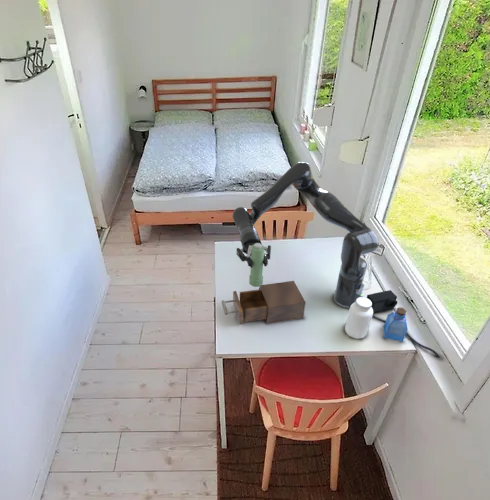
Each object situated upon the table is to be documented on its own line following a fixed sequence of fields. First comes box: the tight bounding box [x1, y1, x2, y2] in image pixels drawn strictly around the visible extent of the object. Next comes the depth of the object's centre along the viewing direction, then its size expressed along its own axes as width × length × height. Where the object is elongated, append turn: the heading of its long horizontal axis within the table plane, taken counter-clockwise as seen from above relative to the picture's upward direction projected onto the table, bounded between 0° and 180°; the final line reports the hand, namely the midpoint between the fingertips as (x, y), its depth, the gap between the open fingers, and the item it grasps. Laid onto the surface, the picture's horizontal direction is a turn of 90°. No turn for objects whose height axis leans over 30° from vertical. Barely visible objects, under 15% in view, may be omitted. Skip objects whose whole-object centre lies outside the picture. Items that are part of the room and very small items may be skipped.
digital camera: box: [366, 289, 398, 315], centre depth 150 cm, size 10×5×7 cm, turn 104°
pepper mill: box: [248, 243, 265, 288], centre depth 143 cm, size 5×5×18 cm
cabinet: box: [258, 280, 306, 324], centre depth 152 cm, size 15×13×9 cm
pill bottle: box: [344, 296, 374, 339], centre depth 139 cm, size 8×8×15 cm
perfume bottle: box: [383, 307, 408, 343], centre depth 138 cm, size 6×6×12 cm
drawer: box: [221, 288, 268, 325], centre depth 150 cm, size 19×12×7 cm, turn 99°
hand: (258, 265), depth 140 cm, fingers closed on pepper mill, 4 cm apart
